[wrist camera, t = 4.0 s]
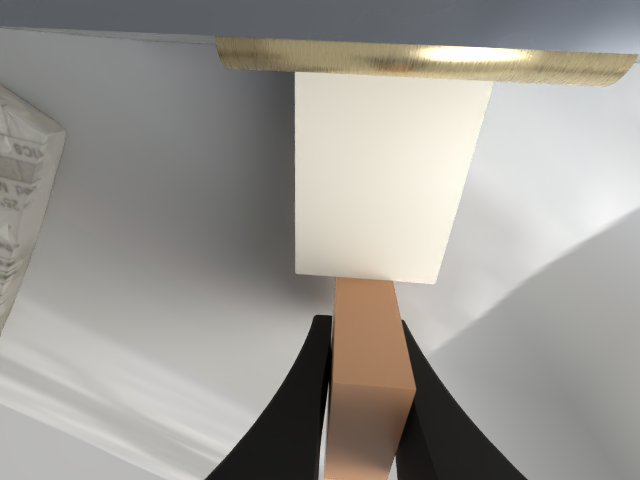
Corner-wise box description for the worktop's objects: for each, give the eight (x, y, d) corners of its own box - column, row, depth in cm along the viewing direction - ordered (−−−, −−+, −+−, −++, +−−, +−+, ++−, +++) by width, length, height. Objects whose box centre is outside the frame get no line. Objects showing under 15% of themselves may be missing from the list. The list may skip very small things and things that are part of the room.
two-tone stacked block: (502, 6, 8) (710, -63, 3) (405, 358, 14) (432, 489, 10) (298, -2, 8) (242, -77, 3) (297, 349, 14) (277, 473, 10)
